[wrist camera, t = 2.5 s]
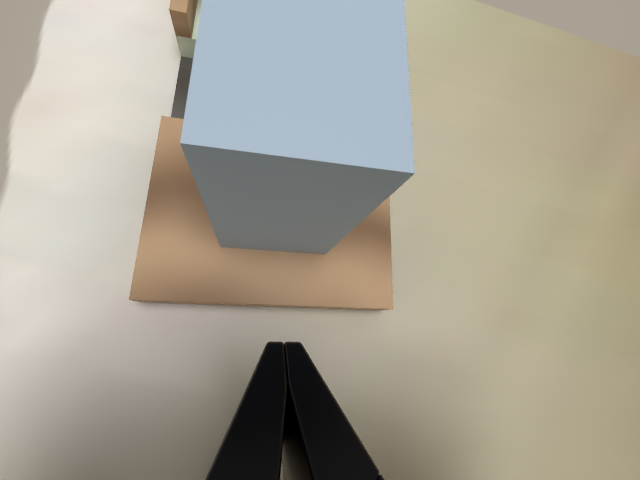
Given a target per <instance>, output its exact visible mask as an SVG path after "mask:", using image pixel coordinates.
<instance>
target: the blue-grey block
mask: <svg viewBox="0 0 640 480" xmlns="http://www.w3.org/2000/svg"><path fill="white" fill-rule="evenodd" d="M180 144H181V147H182V149H183V152H184V155H185V157H186V160H187V162H188V165H189V167H190V170H191V172H192V175H193V178H194V180H195V183H196V185H197V188H198V190H199V193H200V196H201V198H202V201H203V203H204V206H205V208H206V211H207V213H208V216H209V219H210V221H211V224H212V226H213V229H214V231H215V234H216V237H217V239H218V242H219V244H220V247H226V248H240V249H255V250H269V251H283V252H298V253H312V254H326V253H327V252H328V251H329V250H331V249H332V248H333V247H334V246H335V245H336V244H337V243H338V242H339V241H341V240H342V239H343V238H344V237H345V236H346V235H347V234H348V233H349V232H350V231H352V230H353V229H354V228H355V227H356V226H357V225H358V224H359V223H360V222H361V221H363V220H364V219H365V218H366V217H367V216H368V215H369V214H370V213H371V212H373V211H374V210H375V209H376V208H377V207H378V206H379V205H380V204H381V203H382V202H384V201H385V200H386V199H387V198H388V197H389V196H390V195H391V194H392V193H393V192H395V191H396V190H397V189H398V188H399V187H400V186H401V185H402V184H403V183H405V182H406V181H407V180H408V179H409V178H410V177H411V176H412V175H413V174H414V173H415V171H414V154H413V137H412V120H411V103H410V86H409V69H408V52H407V36H406V19H405V2H404V0H202V6H201V12H200V18H199V25H198V31H197V38H196V44H195V50H194V57H193V63H192V70H191V76H190V82H189V89H188V95H187V102H186V108H185V115H184V121H183V127H182V134H181V140H180Z"/></svg>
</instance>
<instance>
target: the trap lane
mask: <svg viewBox="0 0 640 480" xmlns="http://www.w3.org/2000/svg"><path fill="white" fill-rule="evenodd" d="M201 6H202V0H171V2H170V7H169V11H170V15H171V18H172V22H173V26H174V30H175V34H176V38H177V42H178V46H179V49H180V53H181V61H180V67H179V73H178V79H177V85H176V91H175V97H174V103H173V108H172V114H171V117H166V116H162V117H161V122H160V128H159V134H158V139H157V145H156V151H155V156H154V162H153V167H152V173H151V179H150V184H149V190H148V196H147V201H146V207H145V212H144V218H143V224H142V229H141V235H140V241H139V246H138V252H137V258H136V263H135V269H134V274H133V280H132V286H131V291H130V297H129V300H134V301H139V302H157V303H186V304H215V305H243V306H272V307H301V308H330V309H358V310H389V309H393V291H392V262H391V234H390V206H389V197H388V198H387V199H386V200H385V201H384V202H382V203H381V204H380V205H379V206H378V207H377V208H376V209H375V210H374V211H373V212H371V213H370V214H369V215H368V216H367V217H366V218H365V219H364V220H363V221H361V222H360V223H359V224H358V225H357V226H356V227H355V228H354V229H353V230H352V231H350V232H349V233H348V234H347V235H346V236H345V237H344V238H343V239H342V240H341V241H339V242H338V243H337V244H336V245H335V246H334V247H333V248H332V249H331V250H329V251H328V252H327V253H326V254H312V253H298V252H283V251H269V250H255V249H240V248H226V247H220V244H219V242H218V239H217V237H216V234H215V231H214V229H213V226H212V224H211V221H210V219H209V216H208V213H207V211H206V208H205V206H204V203H203V201H202V198H201V196H200V193H199V190H198V188H197V185H196V183H195V180H194V178H193V175H192V172H191V170H190V167H189V165H188V162H187V160H186V157H185V155H184V152H183V149H182V147H181V144H180V140H181V134H182V127H183V121H184V115H185V108H186V102H187V95H188V89H189V82H190V76H191V70H192V63H193V57H194V50H195V44H196V38H197V31H198V25H199V18H200V12H201Z"/></svg>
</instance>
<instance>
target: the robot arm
mask: <svg viewBox="0 0 640 480" xmlns="http://www.w3.org/2000/svg"><path fill="white" fill-rule="evenodd" d="M281 459H282V466H283V476H284V480H384V478H383V476H382V475H378V474H379V470H378V469H377V467H376V465H375V464H374V462H373V460H372V459H371V457H370V455H369V454H368V452H367V450H366V449H365V447H364V446H363V444H362V442H361V441H360V439H359V437H358V436H357V434H356V432H355V431H354V429H353V427H352V426H351V424H350V423H349V421H348V419H347V418H346V416H345V414H344V413H343V411H342V409H341V408H340V406H339V404H338V403H337V401H336V400H335V398H334V396H333V395H332V393H331V391H330V390H329V388H328V386H327V385H326V383H325V381H324V380H323V378H322V377H321V375H320V373H319V372H318V370H317V368H316V367H315V365H314V363H313V362H312V360H311V359H310V357H309V355H308V354H307V352H306V350H305V349H304V347H303V345H302V344H301V343H300V342H285V343H283V342H268V343H267V344H266V346H265V348H264V351H263V353H262V355H261V357H260V359H259V362H258V364H257V366H256V368H255V371H254V373H253V375H252V377H251V379H250V382H249V384H248V386H247V388H246V390H245V393H244V395H243V397H242V399H241V401H240V404H239V406H238V408H237V410H236V413H235V415H234V417H233V419H232V421H231V424H230V426H229V428H228V430H227V432H226V435H225V437H224V439H223V441H222V443H221V446H220V448H219V450H218V452H217V455H216V457H215V459H214V461H213V463H212V466H211V468H210V470H209V472H208V474H207V477H206V479H205V480H280V471H281Z"/></svg>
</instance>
